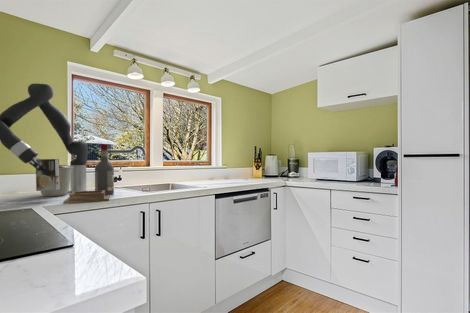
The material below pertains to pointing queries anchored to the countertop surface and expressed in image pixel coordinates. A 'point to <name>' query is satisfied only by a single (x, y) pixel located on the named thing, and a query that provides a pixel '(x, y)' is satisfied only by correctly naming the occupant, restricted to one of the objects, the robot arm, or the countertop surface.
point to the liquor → (104, 173)
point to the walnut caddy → (87, 196)
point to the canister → (61, 182)
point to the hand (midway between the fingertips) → (51, 174)
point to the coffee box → (48, 181)
